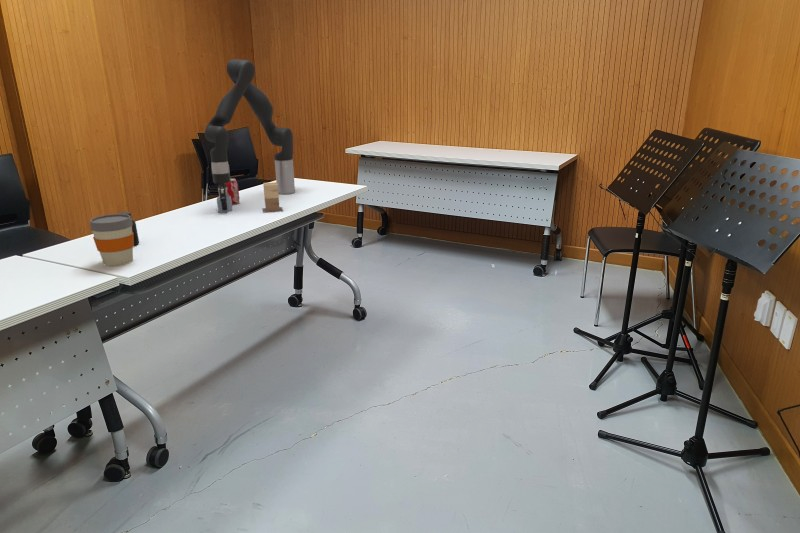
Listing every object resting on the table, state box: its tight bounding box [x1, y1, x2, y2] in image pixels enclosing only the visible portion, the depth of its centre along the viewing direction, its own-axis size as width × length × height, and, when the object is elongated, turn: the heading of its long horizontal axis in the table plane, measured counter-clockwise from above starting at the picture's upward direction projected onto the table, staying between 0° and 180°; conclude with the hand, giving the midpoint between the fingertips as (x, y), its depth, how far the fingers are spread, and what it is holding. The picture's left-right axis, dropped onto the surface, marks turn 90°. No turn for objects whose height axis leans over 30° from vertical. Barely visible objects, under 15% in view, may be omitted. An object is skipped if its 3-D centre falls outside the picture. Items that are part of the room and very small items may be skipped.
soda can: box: [226, 177, 240, 206], centre depth 265 cm, size 7×7×12 cm
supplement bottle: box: [116, 211, 140, 247], centre depth 203 cm, size 7×7×12 cm
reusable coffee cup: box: [89, 213, 135, 267], centre depth 184 cm, size 13×13×15 cm
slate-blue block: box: [216, 196, 233, 214], centre depth 253 cm, size 6×6×6 cm
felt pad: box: [261, 206, 284, 214], centre depth 254 cm, size 9×9×1 cm
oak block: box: [262, 181, 280, 200], centre depth 251 cm, size 6×6×6 cm
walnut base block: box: [264, 198, 280, 213], centre depth 253 cm, size 6×6×6 cm
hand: (225, 208), depth 254 cm, fingers closed on slate-blue block, 6 cm apart
